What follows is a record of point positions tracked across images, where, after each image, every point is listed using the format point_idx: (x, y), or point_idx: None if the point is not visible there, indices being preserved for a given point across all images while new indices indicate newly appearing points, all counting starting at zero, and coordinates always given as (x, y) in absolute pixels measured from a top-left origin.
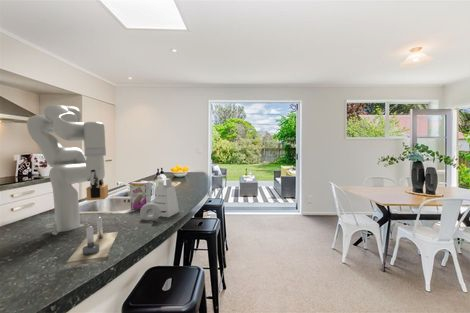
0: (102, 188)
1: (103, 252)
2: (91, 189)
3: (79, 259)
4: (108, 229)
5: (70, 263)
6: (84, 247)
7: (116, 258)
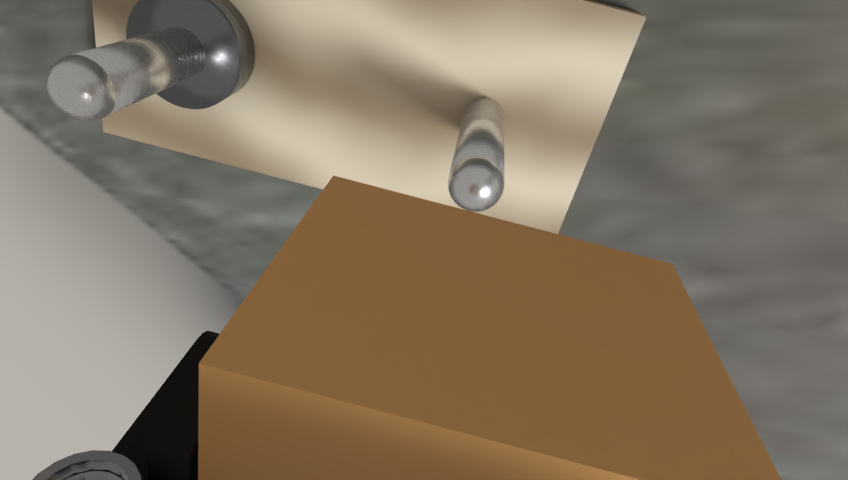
0: None
1: (172, 120)
2: (169, 430)
3: None
4: (772, 186)
5: None
6: (188, 4)
7: (135, 174)
